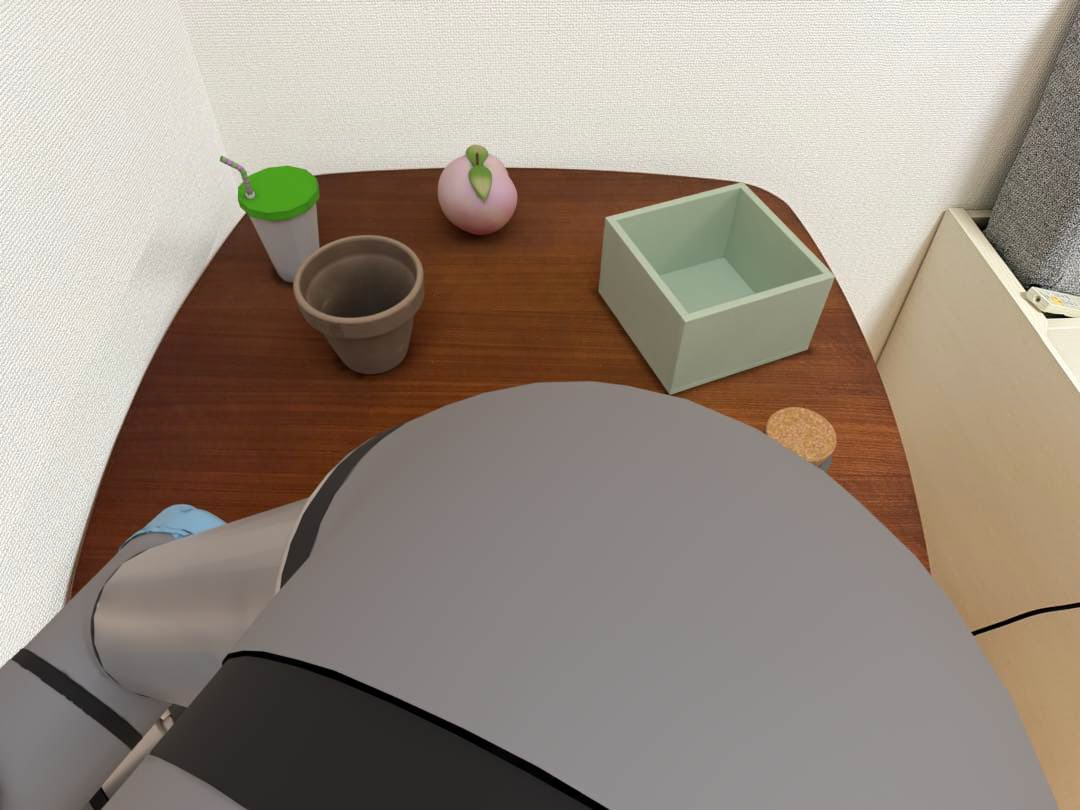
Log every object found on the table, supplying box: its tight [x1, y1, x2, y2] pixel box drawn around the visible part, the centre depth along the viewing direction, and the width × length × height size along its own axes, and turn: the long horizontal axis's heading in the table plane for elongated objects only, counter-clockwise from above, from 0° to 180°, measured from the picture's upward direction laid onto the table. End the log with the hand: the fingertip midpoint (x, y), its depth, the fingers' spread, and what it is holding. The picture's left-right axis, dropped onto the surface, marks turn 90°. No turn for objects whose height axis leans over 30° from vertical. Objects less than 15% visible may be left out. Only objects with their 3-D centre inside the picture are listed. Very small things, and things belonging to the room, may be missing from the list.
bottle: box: [761, 406, 837, 474], centre depth 61 cm, size 6×6×15 cm
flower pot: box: [292, 234, 426, 375], centre depth 76 cm, size 12×11×10 cm
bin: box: [597, 181, 836, 396], centre depth 80 cm, size 16×16×10 cm
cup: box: [219, 155, 321, 284], centre depth 82 cm, size 8×8×15 cm
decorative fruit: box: [437, 144, 518, 236], centre depth 89 cm, size 9×8×10 cm
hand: (464, 539), depth 59 cm, fingers open, 13 cm apart
